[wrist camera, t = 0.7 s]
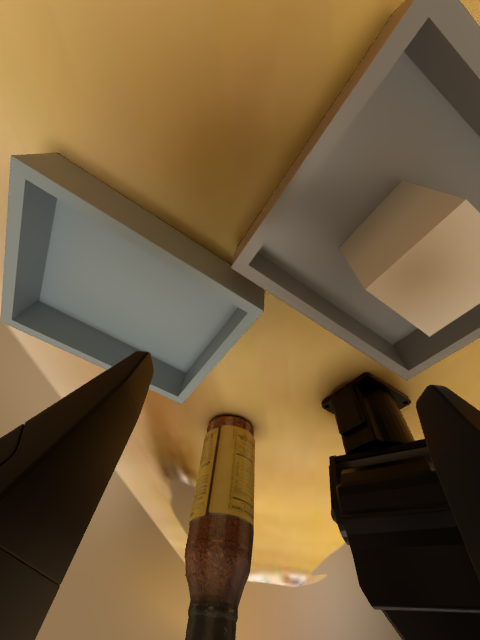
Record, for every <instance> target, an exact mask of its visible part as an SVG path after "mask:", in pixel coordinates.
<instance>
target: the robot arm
mask: <svg viewBox="0 0 480 640" xmlns="http://www.w3.org/2000/svg"><path fill="white" fill-rule="evenodd" d="M153 374H154V368H153V363H152V357H151V354H150V352H147V351H136V352H134V353H133V354H131V355H129V356H128V357H126V358H125V359H123V360H122V361H120V362H119V363H117V364H115V365H114V366H112V367H111V368H109V369H108V370H106V371H104V372H103V373H101V374H100V375H98V376H97V377H95V378H94V379H92V380H90V381H89V382H87V383H86V384H84V385H83V386H81V387H80V388H78V389H76V390H75V391H73V392H72V393H70V394H69V395H67V396H66V397H64V398H62V399H61V400H59V401H58V402H56V403H55V404H53V405H51V406H50V407H48V408H47V409H45V410H44V411H42V412H41V413H39V414H37V415H36V416H34V417H33V418H31V419H30V420H28V421H27V422H26V423H25V425H24V424H22V425H20V426H19V427H17V428H15V429H14V430H12V431H11V432H9V433H8V434H6V435H4V436H3V437H1V438H0V640H35V638H36V636H37V634H38V632H39V630H40V628H41V626H42V623H43V621H44V619H45V617H46V615H47V613H48V611H49V609H50V606H51V604H52V602H53V600H54V598H55V596H56V594H57V591H58V589H59V586H60V584H61V582H62V580H63V578H64V576H65V574H66V572H67V570H68V567H69V565H70V563H71V561H72V559H73V557H74V555H75V553H76V550H77V548H78V546H79V544H80V542H81V540H82V538H83V536H84V533H85V531H86V529H87V527H88V525H89V523H90V521H91V518H92V516H93V514H94V512H95V510H96V508H97V506H98V503H99V501H100V499H101V497H102V495H103V493H104V491H105V488H106V487H107V484H108V482H109V480H110V478H111V476H112V474H113V472H114V469H115V467H116V465H117V463H118V461H119V459H120V457H121V455H122V452H123V450H124V448H125V446H126V444H127V442H128V440H129V437H130V435H131V433H132V431H133V429H134V427H135V425H136V422H137V420H138V418H139V415H140V412H141V410H142V407H143V404H144V401H145V398H146V395H147V392H148V389H149V386H150V383H151V380H152V377H153ZM410 403H411V401H410V399H409V398H408V397H407V396H405V395H404V394H402V393H401V392H399V391H397V390H396V389H394V388H392V387H391V386H389V385H388V384H386V383H384V382H383V381H381V380H380V379H378V378H376V377H375V376H373V375H371V374H369V373H365V374H363V375H361V376H360V377H358V378H357V379H355V380H354V381H352V382H351V383H350V384H348V385H347V386H345V387H344V388H342V389H341V390H339V391H338V392H336V393H335V394H333V395H332V396H330V397H329V398H327V399H326V400H324V401H323V402H322V407H323V408H324V409H325V410H327V411H329V412H331V413H333V414H335V417H336V422H337V426H338V430H339V433H340V434H341V436H342V441H343V445H344V449H345V453H346V455H341V456H330V457H329V459H330V465H329V475H330V492H331V516H332V519H333V520H334V521H335V522H336V523H337V524H338V527H339V530H340V533H341V535H342V537H343V539H344V541H345V542H346V543H347V544H348V545H350V547H351V551H352V554H353V558H354V562H355V567H356V571H357V576H358V581H359V585H360V587H361V589H362V591H363V593H364V594H365V596H366V598H367V599H368V601H369V603H370V604H371V606H372V607H373V608H374V609H378V610H382V611H383V613H384V614H385V616H386V617H387V618H388V620H389V621H390V623H391V624H392V626H393V627H394V628H395V630H396V631H397V633H398V634H399V636H400V637H401V638H402V640H480V411H479V410H477V409H476V408H475V407H473V406H472V405H470V404H469V403H468V402H466V401H465V400H463V399H462V398H461V397H459V396H458V395H456V394H455V393H454V392H452V391H451V390H449V389H448V388H446V387H444V386H438V385H429V386H427V387H426V389H425V390H424V392H423V393H422V394H421V396H420V397H419V399H418V400H417V403H416V408H417V412H418V416H419V419H420V423H421V426H422V430H423V433H424V437H425V439H422V440H417V441H415V440H414V438H413V436H412V434H411V432H410V430H409V428H408V426H407V423H406V421H405V419H404V417H403V415H402V413H401V411H400V409H402V408H404V407H405V406H407V405H409V404H410Z"/></svg>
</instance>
